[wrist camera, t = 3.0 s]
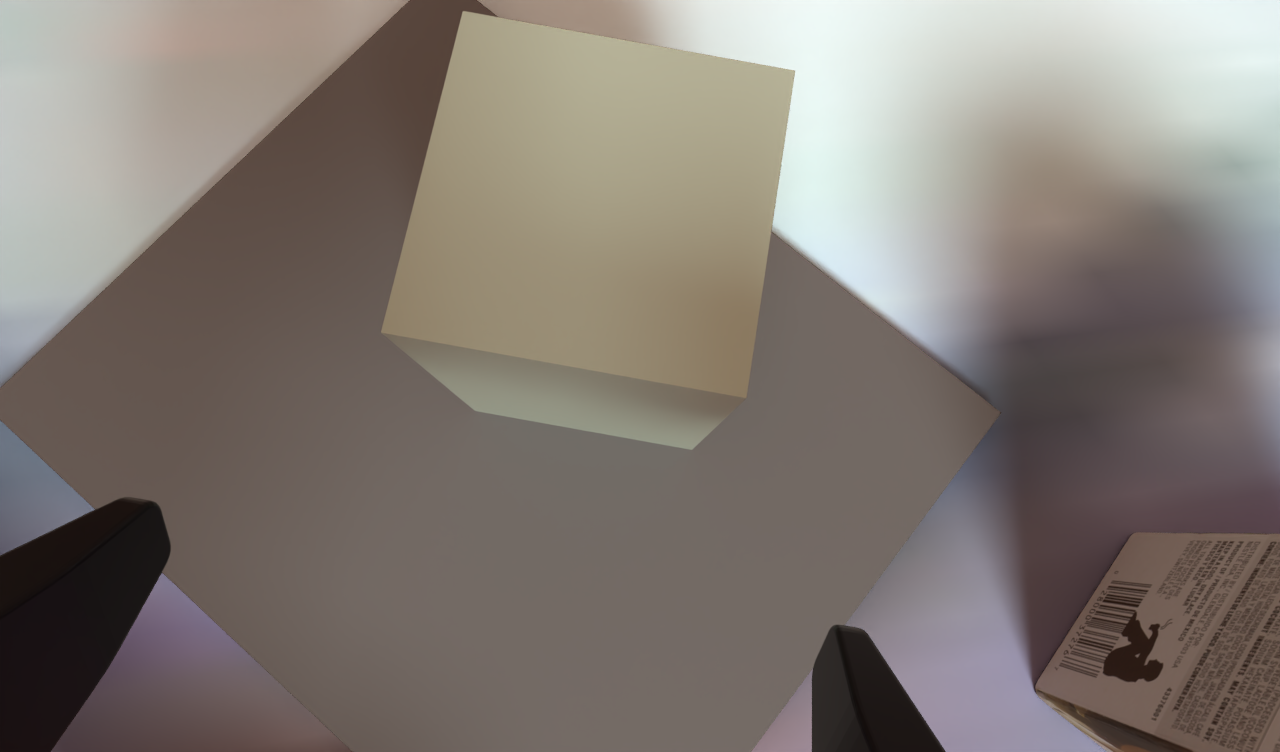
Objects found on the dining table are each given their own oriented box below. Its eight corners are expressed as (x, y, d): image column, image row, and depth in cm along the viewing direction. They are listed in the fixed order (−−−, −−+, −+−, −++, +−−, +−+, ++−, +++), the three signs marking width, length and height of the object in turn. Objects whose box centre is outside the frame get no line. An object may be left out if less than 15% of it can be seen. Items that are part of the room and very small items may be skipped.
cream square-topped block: (725, 245, 24) (794, 70, 15) (692, 449, 23) (745, 397, 14) (520, 208, 24) (463, 11, 15) (474, 411, 23) (380, 332, 14)
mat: (991, 415, 24) (1001, 412, 24) (588, 960, 21) (587, 973, 20) (444, -16, 26) (440, -29, 26) (-1, 407, 23) (-17, 404, 22)
